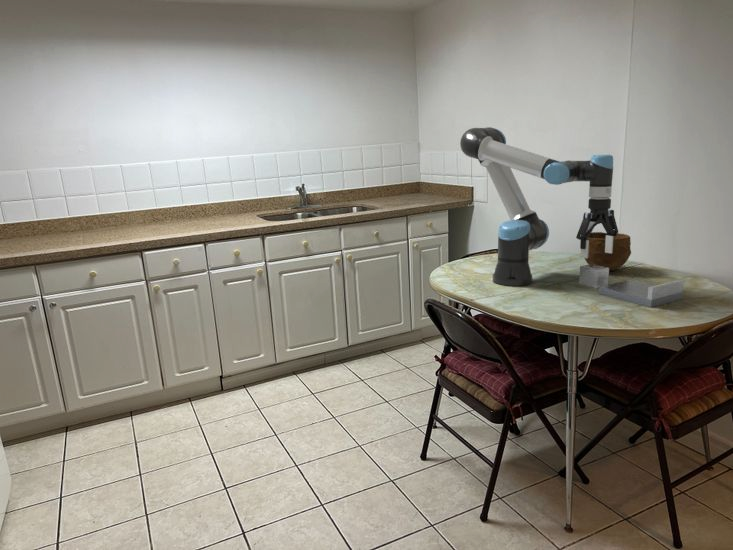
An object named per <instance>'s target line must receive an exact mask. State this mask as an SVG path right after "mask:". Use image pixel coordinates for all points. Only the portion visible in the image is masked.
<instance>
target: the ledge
mask: <svg viewBox="0 0 733 550" xmlns="http://www.w3.org/2000/svg"><path fill="white" fill-rule="evenodd" d="M684 283H685V280H684V279H677V280H676V279H675V280H672V281H668V282H665V283H664V282H663V283H661V284H656V285H655V284H650V283H646V282H640V281H636V280H633V279H628V280H627V279H626V280H622V281H619V282H614V283H610V284H609V283H608V285H605V286H600V287H599V288H598V294H599V295H603V296H606V297H611V298H613V299H614V298H615V299H618V300H622V301H626V302H629V303H632V304H637V305H640V306H644V307H649V308H654V307H657V306H660V305H664V304H669V303H672V302H675V301H680V300H682V299H683V292H684V287H685V286H684V285H685V284H684Z"/></svg>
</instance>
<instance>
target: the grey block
mask: <svg viewBox="0 0 733 550" xmlns="http://www.w3.org/2000/svg"><path fill="white" fill-rule="evenodd" d="M609 274H610V271H609V268H607V267H603V266H598V265H593V264H585V265H580V267H579V281H578V284H580V285H584V286H587V287H590V288H595V289H599V287H600V286H605V285H609Z"/></svg>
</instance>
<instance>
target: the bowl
mask: <svg viewBox="0 0 733 550" xmlns="http://www.w3.org/2000/svg"><path fill="white" fill-rule="evenodd" d="M606 235H608V234H607V232H604V231H603V232H602V231H595V232H593V231H592V232H591V234H590V235H589V237H588V239H587V240H589V246H588V258H583V259H584V260H585V262H586V264H587V265H589V264H593V265H598V266H603V267H607V268H609V272H610V271H615V270H618V269H620V268H621V267H623V265H625V264H626V263H627V261H628V260H629V258H630V256H631V255H632V249H631V244H632V243H631V236H630V235H628V234H626V233H619V232H618V233H617V236H614V242H613V251H612V253H605V242H606ZM608 236H609V235H608Z"/></svg>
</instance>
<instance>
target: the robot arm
mask: <svg viewBox="0 0 733 550" xmlns="http://www.w3.org/2000/svg"><path fill="white" fill-rule="evenodd" d="M459 146H460V149H461V151H462V154H464V155H465V156H467V157H469V158H472V159H476V160H478V162H479V165H480V166H481V167H484V168H486V170H487V172H488V175H489V177H490V179H491V180H492V183H493V186H494V187H495V189H496V191H497V193H498V195H499V198H500V200H501V202H502V204H503V207H504V209H505V210H506V213H507V215H508V217H509V220H507V221H503V222H501V223H500V224H499V227H498V232H497V262H496V265H495V269H494V272H493V273H492V282H493V283H494V284H497V285H501V286H507V287H508V286H510V287H520V286H521V287H522V286H527V285H530V284H532V283H533V275H532V271H531V268H530V264H529V258H530V257H529V255H530V251H532V250H537V249H539V248H540V247H542V246H543V245H545V244H546V243H547V241H548V239H549V236H550V228H549V226H548V224H547V223H546V222H545V221H544V220H542V219H540V218H539V215H538V214H537V212H536V211H534V210H532V209H531V208H530V206H529V204H528V202H527V199H526V198H525V196H524V194H523V192H522V189H521V187H520V186H519V183H518V181H517V179H516V177H515V174H514V173H513V171H512V169H514V170H516V171H520V172H522V173H525V174H528V175H531V176H534V177H537V178H540V179H543V180H545V181H546V183H548V184H550V185H555V186H557V185H562V184H566V183H572V182H589V187H588V197H589V199H588V207H587V208H588V209H589V210H590V212H584V213H583V217H582V220H581V223H580V225H579V229H578V231H577V234H576V239H577V240H579V241H580V244H579V246H580V257H579V258H581V259H582V258H583V259H584V258H588V246H589V240H587V239H588V237H589V235H590V234H591V232H593V230H594V228H595V227H596V226H597V225H600V224H601V225H602V227H603V229H604V231H605V233H607V234H608V235H609V236H608V235H606V242H605V253H612V251H613V242H614V236H617V233H619V229H618V226H617V221H616V217H615V210H614V209H611V208H612V207H611V206H612V199H611V197H612V190H613V187H612V186H613V175H614V156H613V155H612V154H593V155H591V156H590V159H589V160H563V161H562V160H561V161H560V160H556V159H553V158H550V157H547V156H543V155H540V154H537V153H534V152H531V151H528V150H526V149H522V148H518V147H515V146H512V145H509V144H507V139H506V136H505V134H504V133H503V132H502V131H501V130H499V129H498V128H495V127H491V126H490V127H488V126H487V127H473V128H469V129H467V130H466V131H465V132H464V133H463V134H462V136H461V138H460V143H459Z"/></svg>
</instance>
